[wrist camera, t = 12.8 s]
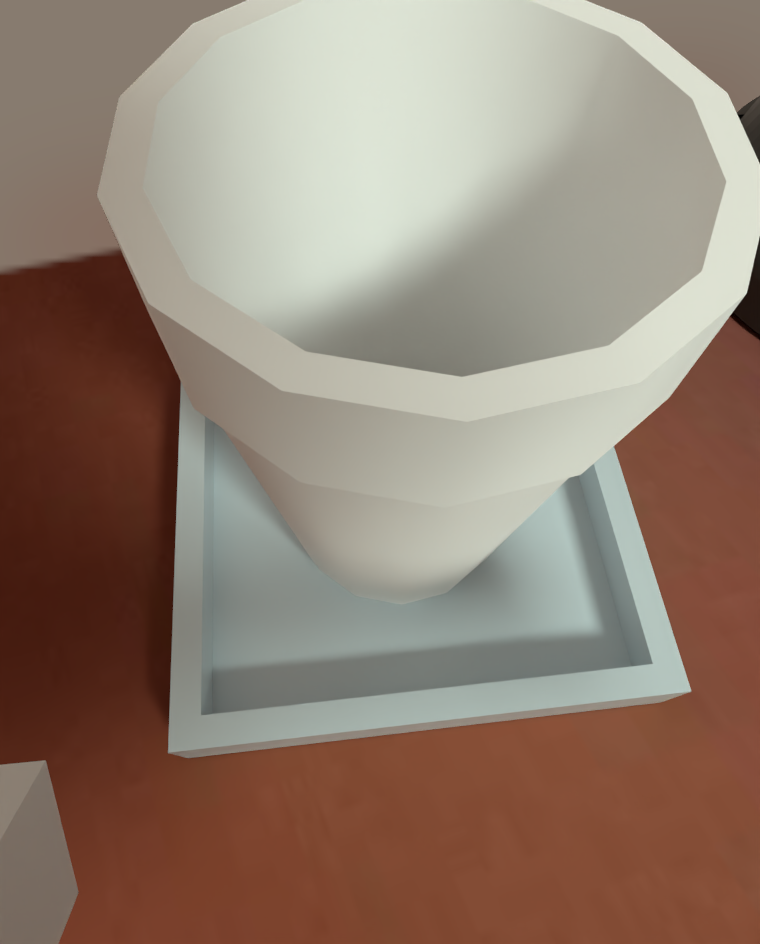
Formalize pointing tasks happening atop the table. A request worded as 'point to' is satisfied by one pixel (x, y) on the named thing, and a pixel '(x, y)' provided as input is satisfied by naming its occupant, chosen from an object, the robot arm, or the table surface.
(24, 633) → the table surface
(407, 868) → the table surface
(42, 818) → the robot arm
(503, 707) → the dish
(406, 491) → the foam cup
